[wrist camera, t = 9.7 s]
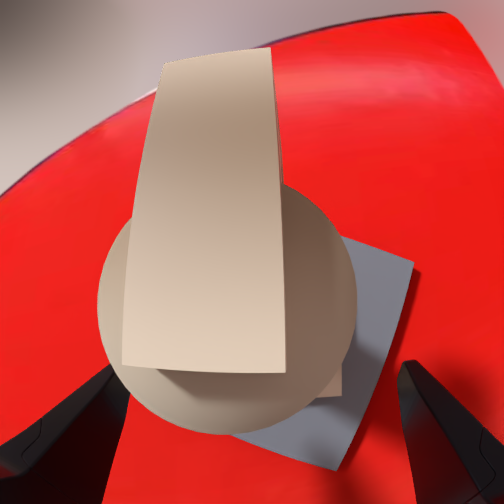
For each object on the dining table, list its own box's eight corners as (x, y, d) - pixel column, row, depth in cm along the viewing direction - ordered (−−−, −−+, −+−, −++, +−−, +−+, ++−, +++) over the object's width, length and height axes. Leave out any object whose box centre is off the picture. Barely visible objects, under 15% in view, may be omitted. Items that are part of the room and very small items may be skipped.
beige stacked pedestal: (338, 392, 16) (462, 516, 2) (211, 393, 16) (17, 476, 3) (333, 256, 18) (401, 50, 4) (212, 261, 19) (63, 94, 5)
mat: (409, 265, 18) (414, 262, 17) (334, 466, 15) (336, 471, 14) (217, 200, 21) (214, 195, 20) (139, 384, 18) (133, 385, 17)
